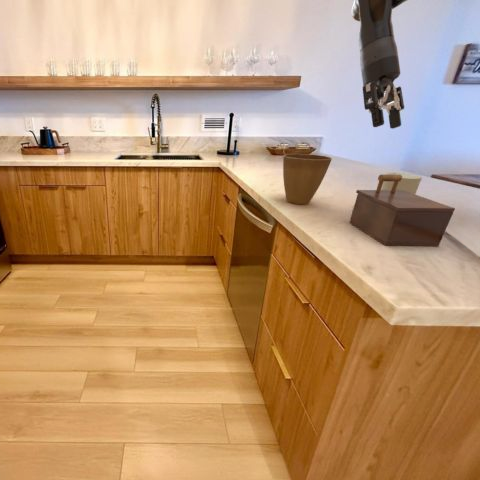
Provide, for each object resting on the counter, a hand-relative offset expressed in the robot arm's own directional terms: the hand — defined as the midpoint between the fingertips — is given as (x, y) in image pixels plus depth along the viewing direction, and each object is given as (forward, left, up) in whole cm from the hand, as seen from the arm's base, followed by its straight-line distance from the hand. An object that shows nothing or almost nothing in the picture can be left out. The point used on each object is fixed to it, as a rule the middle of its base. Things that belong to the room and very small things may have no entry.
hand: (387, 126), depth 73 cm
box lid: (-6, +6, -17) cm, 19 cm away
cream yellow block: (-12, -17, -26) cm, 33 cm away
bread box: (-6, +6, -26) cm, 28 cm away
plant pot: (+16, -17, -26) cm, 35 cm away
